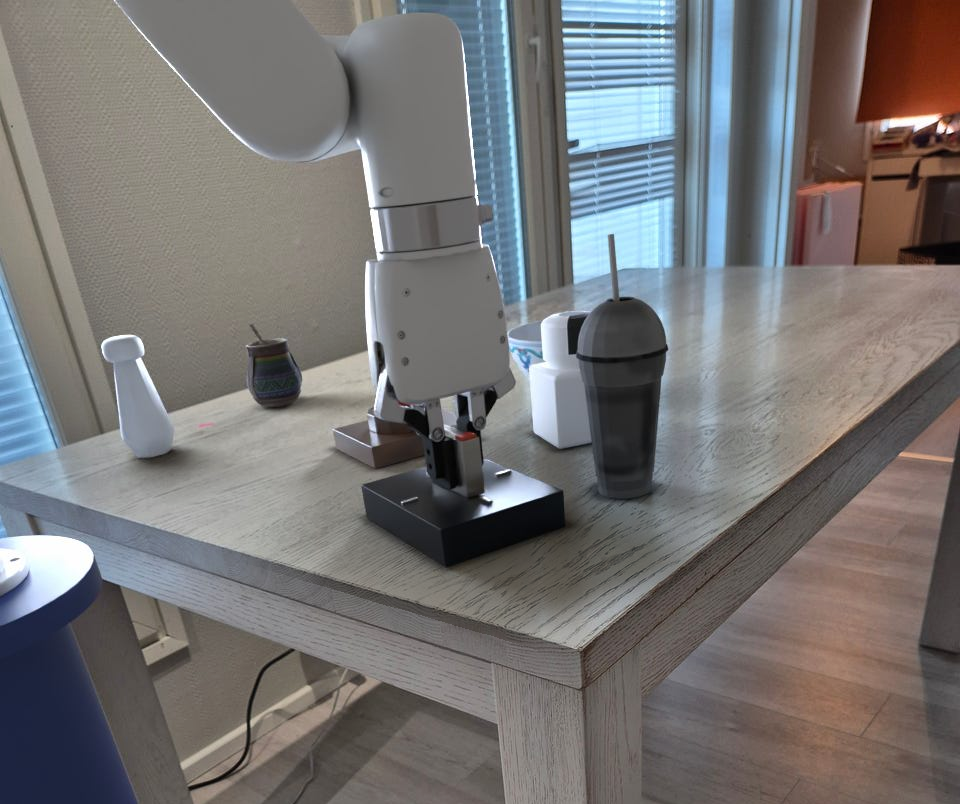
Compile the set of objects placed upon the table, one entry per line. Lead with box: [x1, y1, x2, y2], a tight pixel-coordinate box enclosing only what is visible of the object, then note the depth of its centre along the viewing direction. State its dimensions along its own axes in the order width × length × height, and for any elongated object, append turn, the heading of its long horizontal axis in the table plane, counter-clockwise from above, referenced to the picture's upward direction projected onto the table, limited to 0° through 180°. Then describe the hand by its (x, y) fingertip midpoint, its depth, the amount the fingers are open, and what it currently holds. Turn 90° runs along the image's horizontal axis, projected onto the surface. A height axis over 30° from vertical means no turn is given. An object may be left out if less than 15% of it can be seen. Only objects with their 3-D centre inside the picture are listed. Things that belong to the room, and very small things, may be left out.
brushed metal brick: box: [444, 425, 485, 498], centre depth 69 cm, size 6×2×5 cm, turn 32°
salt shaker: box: [101, 334, 175, 459], centre depth 97 cm, size 6×6×13 cm
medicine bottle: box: [529, 310, 592, 450], centre depth 86 cm, size 7×7×12 cm
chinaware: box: [507, 319, 546, 381], centre depth 102 cm, size 15×15×8 cm
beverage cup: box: [576, 233, 669, 500], centre depth 69 cm, size 7×7×20 cm
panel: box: [360, 457, 566, 568], centre depth 71 cm, size 11×14×3 cm
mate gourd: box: [245, 323, 303, 409], centre depth 114 cm, size 7×8×10 cm
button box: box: [332, 405, 457, 469], centre depth 92 cm, size 12×10×4 cm
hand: (457, 479), depth 70 cm, fingers closed on brushed metal brick
